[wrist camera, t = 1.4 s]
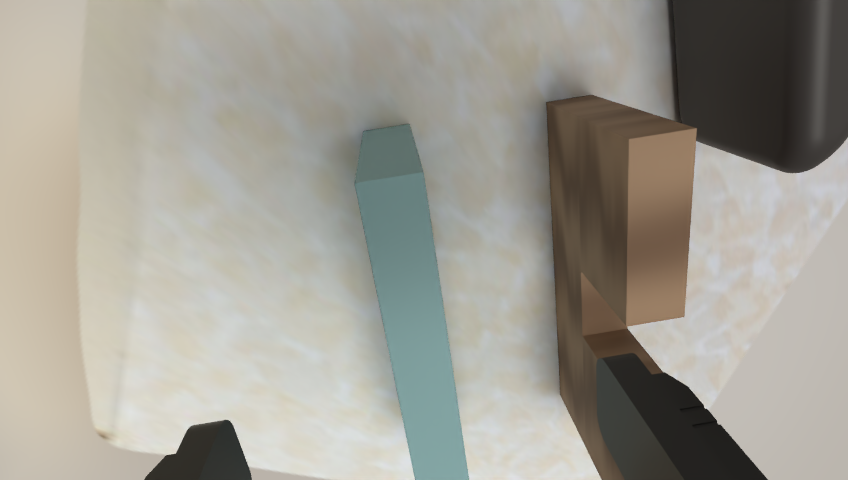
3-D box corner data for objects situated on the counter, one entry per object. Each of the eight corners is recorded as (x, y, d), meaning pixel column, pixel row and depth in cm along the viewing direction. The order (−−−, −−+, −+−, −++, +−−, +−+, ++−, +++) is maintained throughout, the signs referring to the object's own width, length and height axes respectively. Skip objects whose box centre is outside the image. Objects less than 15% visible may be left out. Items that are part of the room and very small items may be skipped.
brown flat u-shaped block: (546, 102, 28) (628, 138, 18) (591, 94, 28) (696, 128, 18) (560, 394, 35) (623, 524, 26) (595, 388, 35) (671, 515, 26)
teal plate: (418, 418, 35) (431, 556, 26) (363, 131, 27) (354, 183, 18) (453, 412, 35) (479, 548, 26) (409, 124, 28) (423, 172, 18)
